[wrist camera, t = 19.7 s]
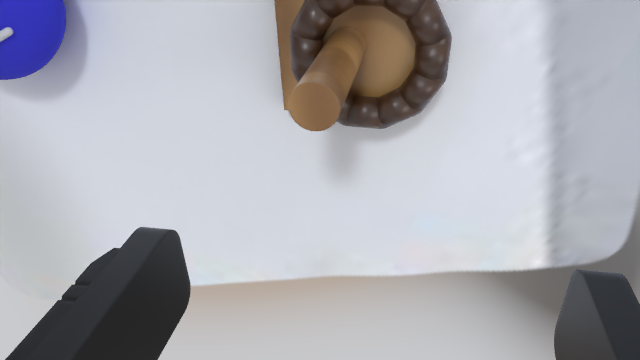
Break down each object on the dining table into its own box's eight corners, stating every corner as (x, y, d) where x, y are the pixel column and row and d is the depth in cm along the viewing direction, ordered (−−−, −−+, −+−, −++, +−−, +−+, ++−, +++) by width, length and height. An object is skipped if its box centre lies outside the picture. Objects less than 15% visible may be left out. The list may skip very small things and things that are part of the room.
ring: (297, 114, 33) (289, 126, 32) (292, -37, 28) (283, -32, 27) (438, 125, 32) (439, 139, 30) (460, -33, 27) (461, -28, 25)
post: (288, 104, 34) (233, 185, 25) (276, -33, 30) (204, 4, 20) (416, 108, 33) (409, 198, 23) (425, -37, 28) (421, 3, 19)
